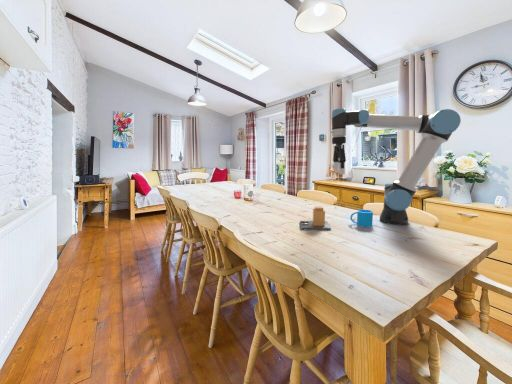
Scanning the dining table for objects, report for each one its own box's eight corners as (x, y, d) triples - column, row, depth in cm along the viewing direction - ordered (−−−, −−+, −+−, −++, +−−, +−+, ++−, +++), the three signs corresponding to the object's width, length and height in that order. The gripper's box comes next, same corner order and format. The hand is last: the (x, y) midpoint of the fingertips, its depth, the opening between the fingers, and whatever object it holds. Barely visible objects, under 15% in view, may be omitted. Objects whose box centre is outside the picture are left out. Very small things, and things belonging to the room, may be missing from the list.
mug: (371, 223, 145) (371, 209, 143) (373, 227, 137) (374, 213, 136) (349, 222, 148) (350, 208, 147) (350, 225, 140) (351, 212, 139)
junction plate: (327, 222, 147) (327, 212, 146) (330, 230, 133) (331, 219, 132) (300, 222, 149) (300, 212, 148) (301, 229, 135) (301, 218, 134)
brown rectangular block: (323, 222, 143) (323, 206, 142) (324, 225, 137) (325, 208, 136) (312, 222, 144) (312, 206, 142) (313, 225, 138) (314, 208, 137)
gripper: (327, 138, 154) (328, 172, 157) (337, 135, 129) (337, 175, 132) (340, 138, 153) (340, 171, 156) (351, 134, 128) (351, 174, 131)
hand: (339, 173), depth 144 cm, fingers open, 13 cm apart
